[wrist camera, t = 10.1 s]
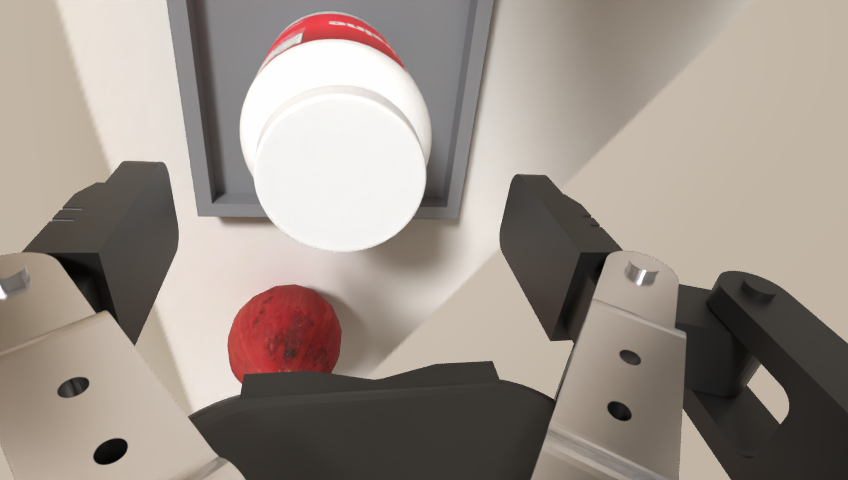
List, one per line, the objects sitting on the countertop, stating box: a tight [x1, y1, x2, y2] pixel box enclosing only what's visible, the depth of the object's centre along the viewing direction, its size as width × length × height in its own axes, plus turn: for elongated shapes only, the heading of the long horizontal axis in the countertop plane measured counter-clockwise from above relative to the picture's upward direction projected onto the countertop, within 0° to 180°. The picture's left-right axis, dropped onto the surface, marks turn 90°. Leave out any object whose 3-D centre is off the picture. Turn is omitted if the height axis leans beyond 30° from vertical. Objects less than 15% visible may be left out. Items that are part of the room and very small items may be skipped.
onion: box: [228, 285, 342, 384], centre depth 26 cm, size 6×6×8 cm
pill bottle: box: [240, 11, 432, 252], centre depth 18 cm, size 6×6×11 cm
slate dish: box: [167, 0, 494, 219], centre depth 22 cm, size 13×13×2 cm
